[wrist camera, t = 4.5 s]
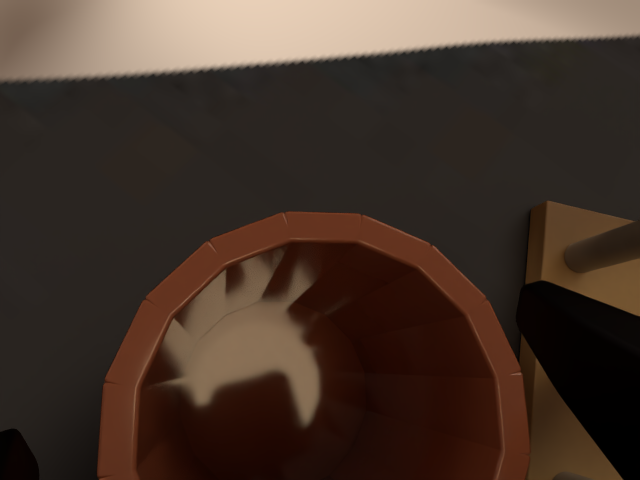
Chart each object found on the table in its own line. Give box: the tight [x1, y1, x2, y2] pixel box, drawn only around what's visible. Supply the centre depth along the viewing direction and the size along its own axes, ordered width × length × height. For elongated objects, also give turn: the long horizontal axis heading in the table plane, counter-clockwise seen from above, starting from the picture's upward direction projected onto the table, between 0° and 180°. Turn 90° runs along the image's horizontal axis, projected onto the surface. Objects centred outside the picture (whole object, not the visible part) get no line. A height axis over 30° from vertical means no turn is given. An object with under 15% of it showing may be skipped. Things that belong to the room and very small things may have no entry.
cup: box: [97, 211, 531, 480], centre depth 12 cm, size 6×6×8 cm
